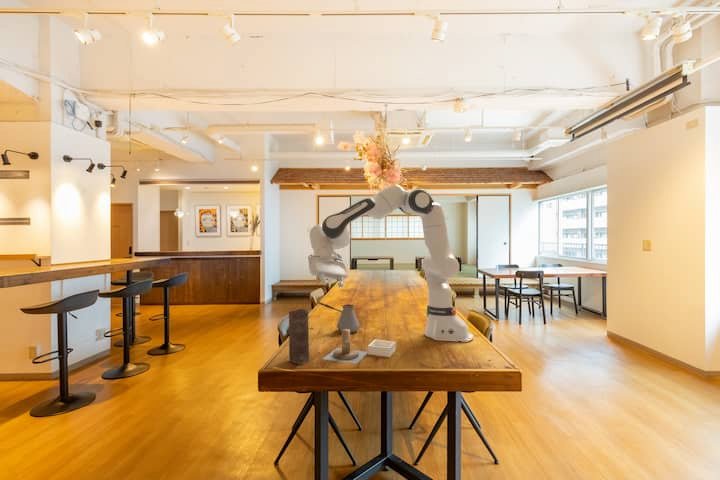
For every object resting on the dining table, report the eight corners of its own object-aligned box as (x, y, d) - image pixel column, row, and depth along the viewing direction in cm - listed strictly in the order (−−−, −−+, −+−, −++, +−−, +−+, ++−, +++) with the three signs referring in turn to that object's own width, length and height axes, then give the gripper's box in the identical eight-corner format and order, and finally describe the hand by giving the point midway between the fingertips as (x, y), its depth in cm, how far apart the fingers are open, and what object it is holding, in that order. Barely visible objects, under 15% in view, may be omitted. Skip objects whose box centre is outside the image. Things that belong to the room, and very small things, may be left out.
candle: (291, 367, 124) (291, 312, 124) (286, 361, 130) (286, 308, 130) (312, 364, 127) (312, 310, 127) (305, 357, 134) (305, 306, 134)
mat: (368, 353, 139) (368, 352, 139) (355, 365, 126) (355, 363, 126) (337, 349, 144) (337, 347, 144) (321, 360, 131) (321, 358, 131)
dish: (395, 351, 142) (395, 341, 142) (389, 358, 133) (389, 348, 133) (375, 348, 145) (375, 339, 145) (367, 355, 137) (367, 345, 137)
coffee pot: (358, 327, 178) (358, 299, 178) (360, 334, 167) (361, 303, 167) (316, 329, 176) (316, 299, 176) (316, 335, 164) (316, 304, 164)
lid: (362, 352, 138) (362, 328, 138) (353, 361, 129) (353, 334, 129) (339, 350, 142) (339, 325, 141) (328, 357, 132) (328, 332, 132)
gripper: (312, 250, 143) (320, 279, 136) (345, 257, 158) (354, 284, 151) (302, 257, 146) (310, 286, 139) (336, 264, 161) (344, 290, 154)
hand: (333, 285), depth 145 cm, fingers open, 8 cm apart
